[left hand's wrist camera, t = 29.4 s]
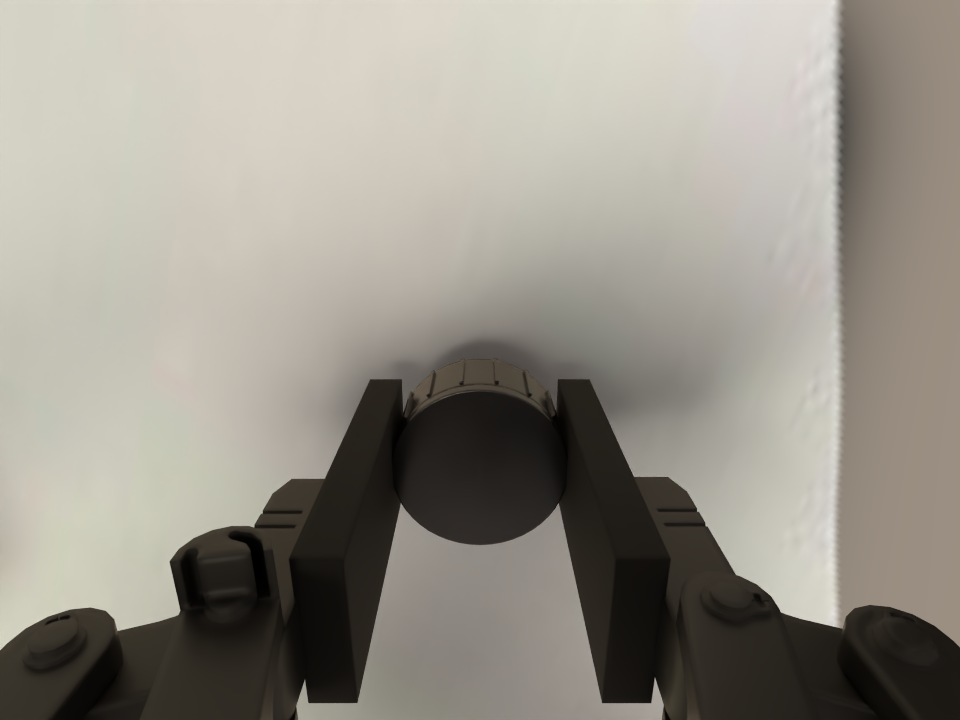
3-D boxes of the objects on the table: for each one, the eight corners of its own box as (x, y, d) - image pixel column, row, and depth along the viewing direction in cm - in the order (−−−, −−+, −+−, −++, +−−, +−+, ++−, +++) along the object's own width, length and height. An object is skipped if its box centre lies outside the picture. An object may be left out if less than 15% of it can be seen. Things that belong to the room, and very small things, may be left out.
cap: (480, 525, 16) (480, 575, 14) (367, 431, 15) (352, 472, 13) (592, 430, 15) (607, 470, 13) (478, 323, 14) (478, 350, 12)
